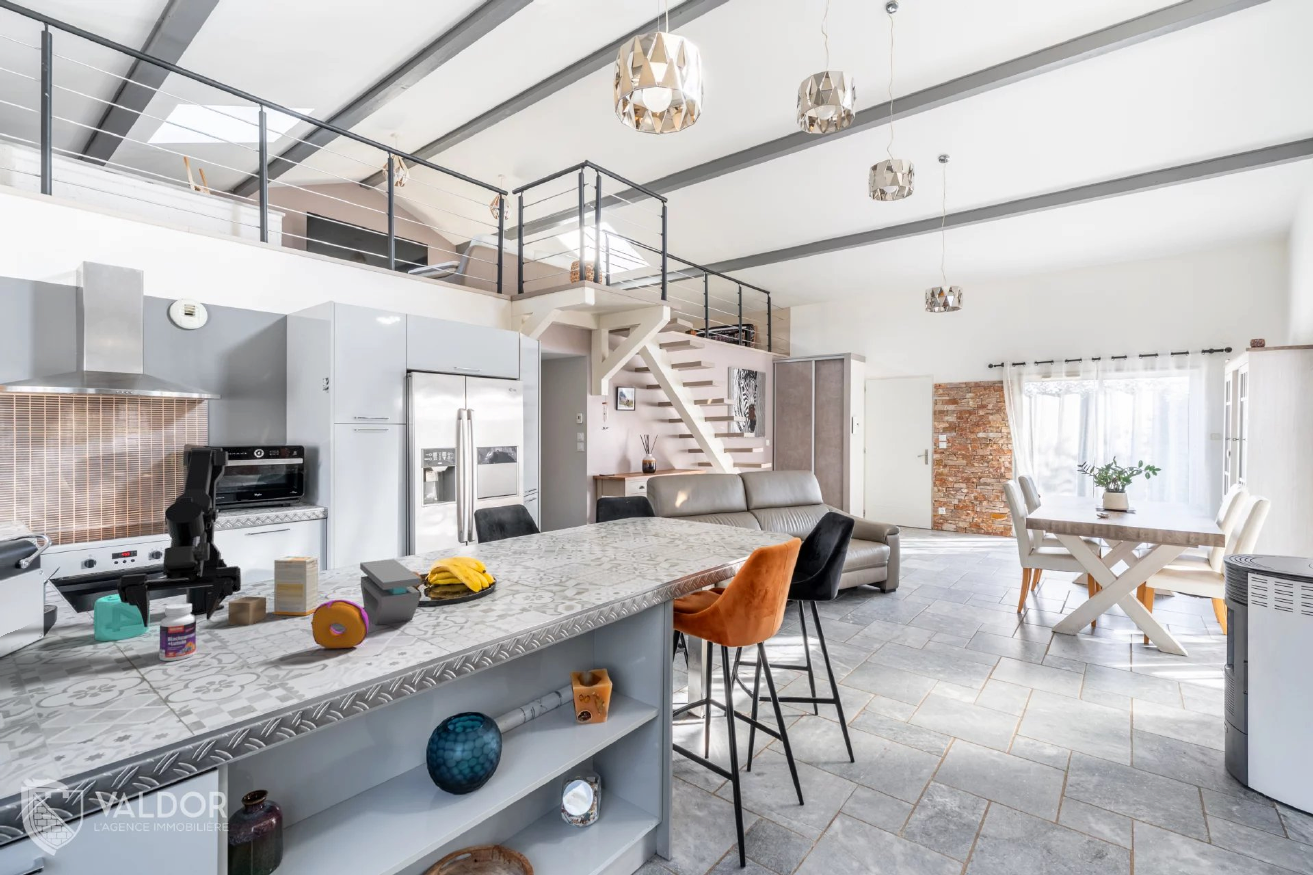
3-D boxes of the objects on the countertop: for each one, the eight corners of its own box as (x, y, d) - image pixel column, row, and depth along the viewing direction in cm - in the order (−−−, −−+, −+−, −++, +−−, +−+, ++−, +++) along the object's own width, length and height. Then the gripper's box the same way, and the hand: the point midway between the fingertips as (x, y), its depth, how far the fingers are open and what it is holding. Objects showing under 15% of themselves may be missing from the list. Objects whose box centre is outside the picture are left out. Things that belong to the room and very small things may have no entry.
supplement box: (319, 610, 144) (320, 556, 144) (305, 616, 139) (306, 560, 139) (287, 609, 145) (288, 555, 145) (272, 614, 140) (273, 559, 140)
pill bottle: (166, 663, 109) (167, 611, 109) (154, 657, 112) (155, 606, 112) (200, 655, 114) (201, 604, 114) (188, 649, 117) (189, 599, 117)
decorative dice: (149, 634, 125) (150, 596, 125) (97, 644, 119) (98, 604, 119) (143, 626, 130) (143, 590, 131) (93, 635, 125) (93, 597, 125)
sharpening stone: (420, 626, 133) (420, 578, 133) (382, 633, 128) (383, 582, 128) (393, 601, 153) (393, 559, 153) (359, 606, 148) (360, 562, 148)
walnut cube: (228, 624, 133) (228, 602, 133) (245, 618, 138) (245, 596, 138) (249, 625, 132) (249, 603, 132) (265, 618, 137) (266, 597, 137)
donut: (340, 640, 123) (341, 591, 123) (373, 646, 120) (374, 596, 120) (305, 652, 116) (305, 601, 116) (339, 659, 113) (340, 606, 113)
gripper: (120, 533, 112) (103, 605, 102) (241, 526, 122) (235, 592, 112) (129, 567, 118) (114, 638, 109) (243, 558, 128) (238, 623, 119)
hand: (177, 622), depth 112 cm, fingers open, 9 cm apart
